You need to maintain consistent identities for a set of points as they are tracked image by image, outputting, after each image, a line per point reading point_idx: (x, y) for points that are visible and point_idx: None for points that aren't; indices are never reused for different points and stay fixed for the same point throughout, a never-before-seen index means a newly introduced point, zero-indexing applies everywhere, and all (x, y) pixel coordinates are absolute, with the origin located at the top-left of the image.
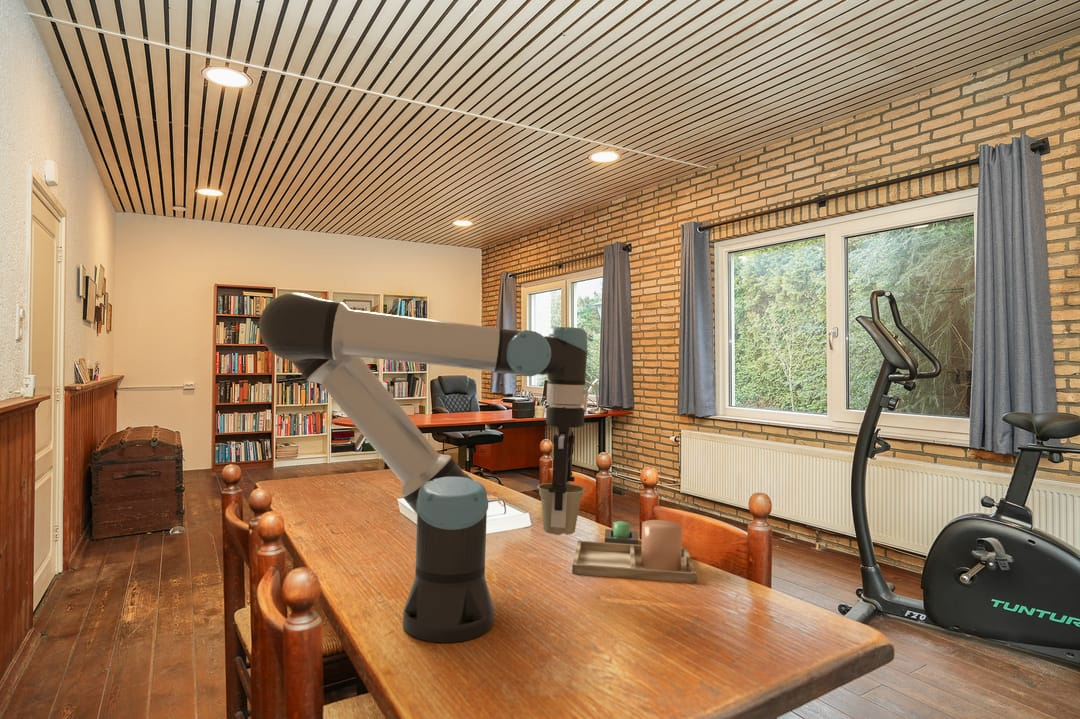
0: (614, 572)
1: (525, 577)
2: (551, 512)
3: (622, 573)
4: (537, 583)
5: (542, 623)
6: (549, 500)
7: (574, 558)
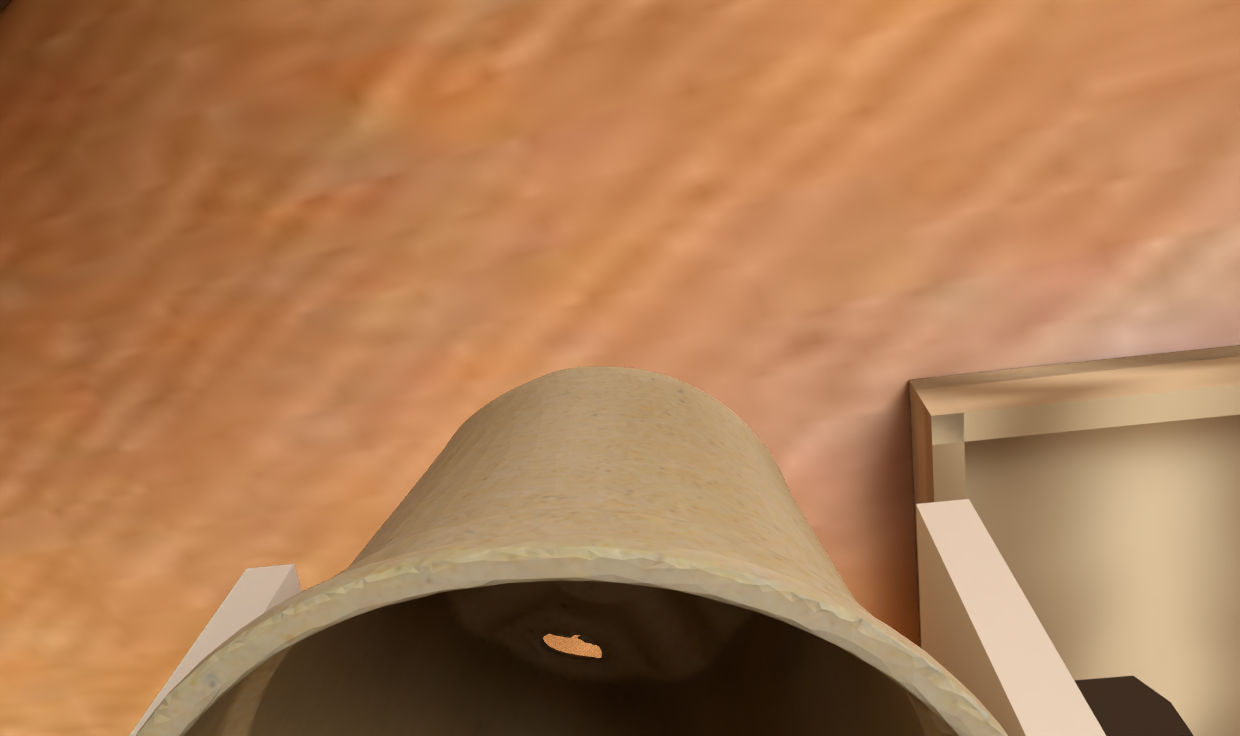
0: None
1: (809, 30)
2: (167, 681)
3: None
4: (707, 161)
5: (75, 359)
6: (244, 717)
7: (1103, 402)
